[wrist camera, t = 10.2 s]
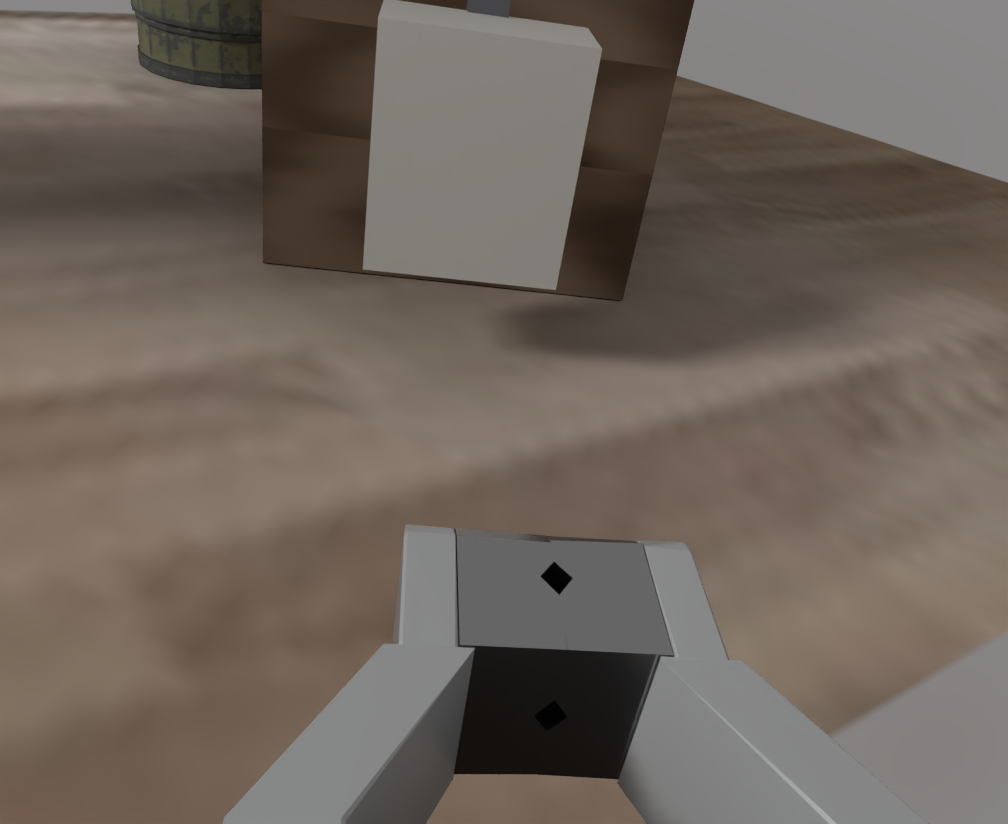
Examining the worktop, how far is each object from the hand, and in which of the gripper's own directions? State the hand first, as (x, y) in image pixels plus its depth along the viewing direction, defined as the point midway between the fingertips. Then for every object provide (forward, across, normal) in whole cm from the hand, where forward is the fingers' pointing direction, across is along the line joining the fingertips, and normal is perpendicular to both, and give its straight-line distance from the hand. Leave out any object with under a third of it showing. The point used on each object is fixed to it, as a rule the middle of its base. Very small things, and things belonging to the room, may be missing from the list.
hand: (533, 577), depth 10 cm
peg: (+22, 0, +3) cm, 22 cm away
